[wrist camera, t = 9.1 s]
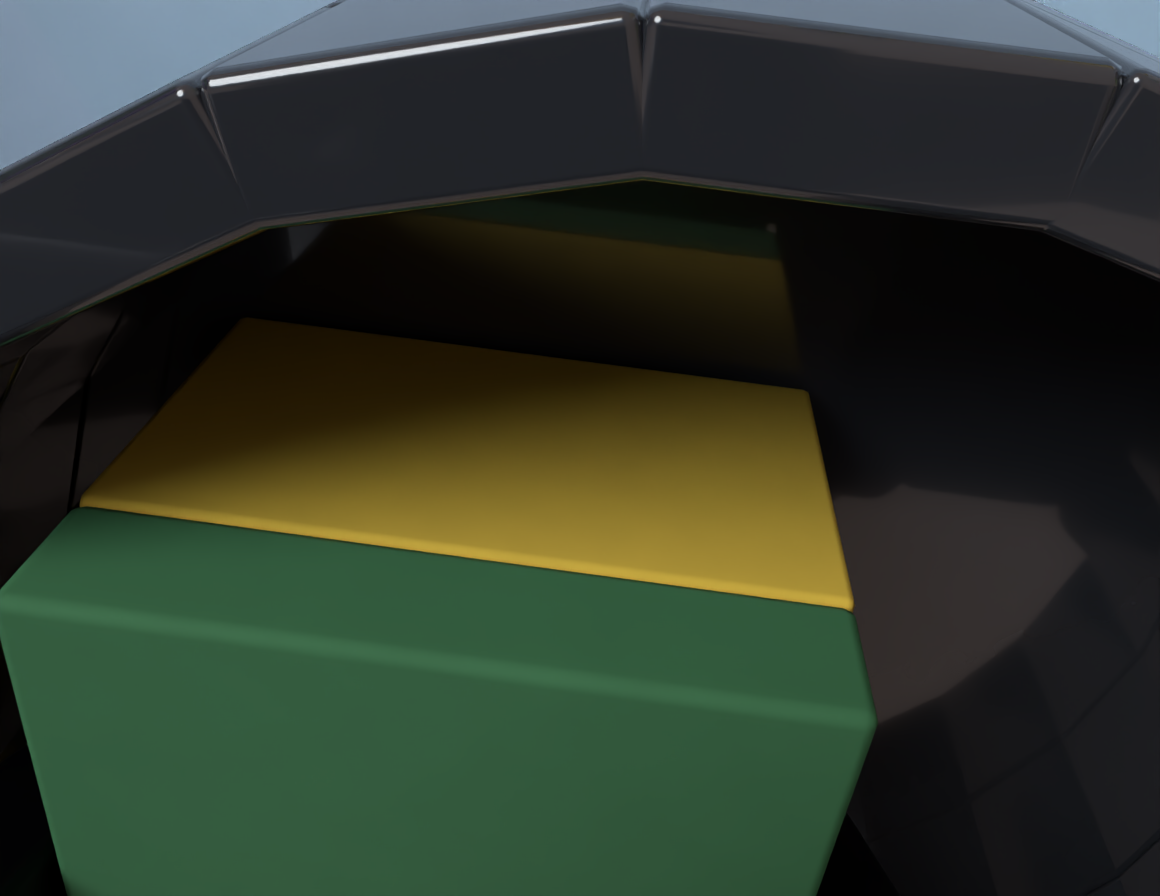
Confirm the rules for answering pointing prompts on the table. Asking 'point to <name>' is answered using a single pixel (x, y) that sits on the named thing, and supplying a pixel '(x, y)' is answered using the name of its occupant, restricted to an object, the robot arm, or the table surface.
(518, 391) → the sponge
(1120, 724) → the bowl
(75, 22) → the table surface
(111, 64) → the table surface
